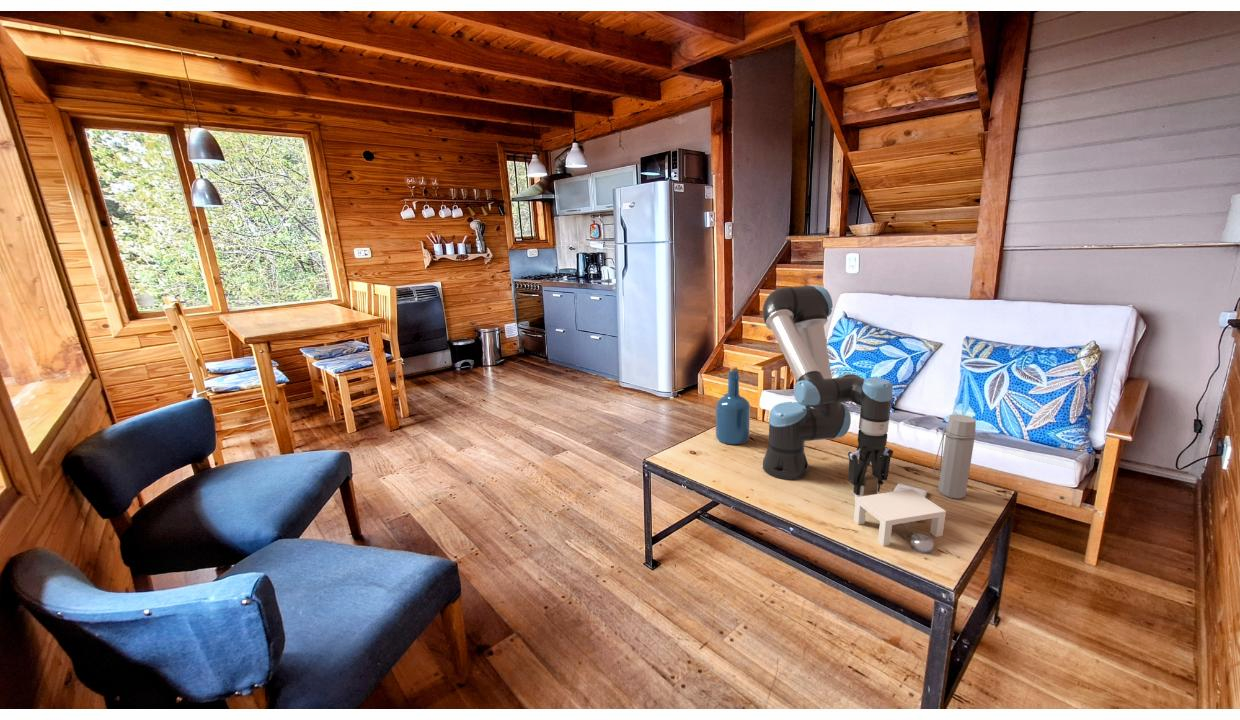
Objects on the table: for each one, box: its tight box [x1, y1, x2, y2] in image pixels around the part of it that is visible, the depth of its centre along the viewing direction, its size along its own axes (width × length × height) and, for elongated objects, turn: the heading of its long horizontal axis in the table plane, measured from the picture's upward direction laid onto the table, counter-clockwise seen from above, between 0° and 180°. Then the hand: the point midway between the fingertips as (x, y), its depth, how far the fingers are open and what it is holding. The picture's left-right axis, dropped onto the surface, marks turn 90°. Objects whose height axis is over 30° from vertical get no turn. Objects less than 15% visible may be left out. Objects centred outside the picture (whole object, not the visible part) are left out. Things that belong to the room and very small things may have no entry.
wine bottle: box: [715, 366, 751, 445], centre depth 193 cm, size 14×13×30 cm
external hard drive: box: [892, 483, 928, 498], centre depth 149 cm, size 2×8×12 cm
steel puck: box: [909, 533, 935, 555], centre depth 126 cm, size 5×5×2 cm
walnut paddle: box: [862, 471, 916, 540], centre depth 139 cm, size 20×4×9 cm, turn 11°
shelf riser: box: [853, 489, 947, 547], centre depth 134 cm, size 12×18×8 cm, turn 101°
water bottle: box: [933, 413, 977, 499], centre depth 148 cm, size 9×8×25 cm
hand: (865, 502), depth 147 cm, fingers closed on walnut paddle, 4 cm apart
